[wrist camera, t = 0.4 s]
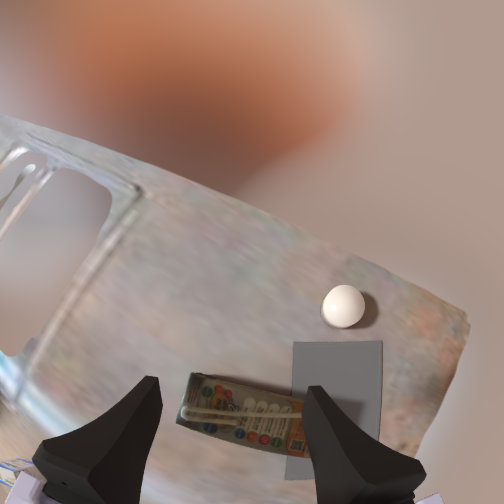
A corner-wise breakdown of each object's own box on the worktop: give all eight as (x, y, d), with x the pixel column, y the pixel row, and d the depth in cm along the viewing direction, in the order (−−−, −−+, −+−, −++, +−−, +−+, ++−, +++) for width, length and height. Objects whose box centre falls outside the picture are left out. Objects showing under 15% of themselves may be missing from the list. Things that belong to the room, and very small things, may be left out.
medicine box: (41, 463, 28) (13, 470, 20) (48, 483, 26) (21, 492, 18) (18, 458, 27) (-9, 462, 19) (24, 476, 26) (-2, 482, 18)
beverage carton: (199, 369, 38) (188, 369, 32) (327, 401, 35) (339, 406, 29) (184, 418, 35) (171, 425, 29) (312, 450, 32) (321, 463, 26)
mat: (373, 471, 30) (373, 471, 30) (284, 479, 30) (284, 480, 30) (381, 340, 39) (381, 340, 39) (293, 342, 39) (293, 342, 39)
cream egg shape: (357, 329, 40) (365, 325, 37) (320, 329, 40) (325, 325, 37) (356, 292, 42) (363, 285, 39) (320, 291, 43) (325, 284, 39)
